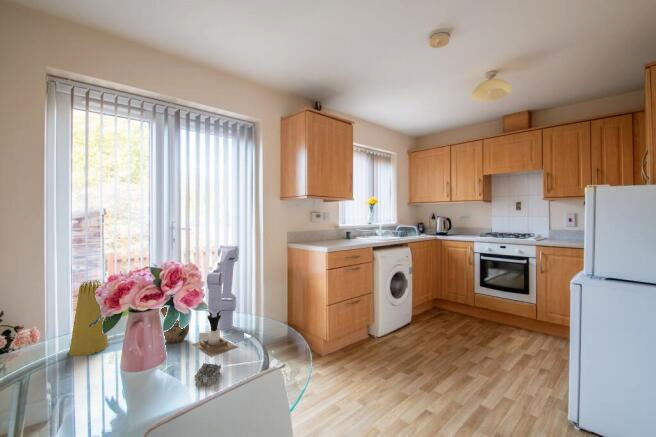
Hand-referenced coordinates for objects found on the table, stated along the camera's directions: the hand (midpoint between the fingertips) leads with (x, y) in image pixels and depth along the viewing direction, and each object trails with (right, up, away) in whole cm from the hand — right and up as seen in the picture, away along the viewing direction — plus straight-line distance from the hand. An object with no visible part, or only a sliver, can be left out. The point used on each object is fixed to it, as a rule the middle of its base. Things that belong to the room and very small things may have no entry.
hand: (214, 327), depth 134 cm
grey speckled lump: (+8, -9, -26) cm, 29 cm away
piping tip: (-53, -7, -6) cm, 54 cm away
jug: (-2, -8, -1) cm, 8 cm away
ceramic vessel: (-20, -8, +3) cm, 22 cm away
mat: (+8, -9, +10) cm, 16 cm away
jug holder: (+1, -9, -1) cm, 9 cm away
